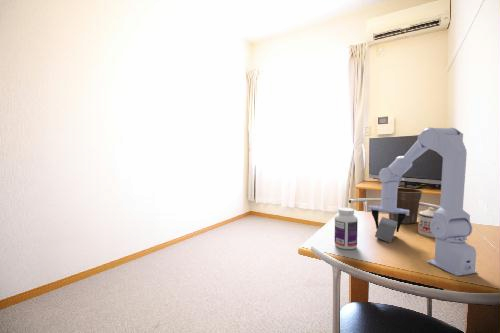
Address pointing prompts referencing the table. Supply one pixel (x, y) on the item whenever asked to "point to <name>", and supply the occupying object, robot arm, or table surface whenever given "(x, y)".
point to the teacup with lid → (426, 222)
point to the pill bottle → (346, 229)
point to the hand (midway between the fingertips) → (387, 229)
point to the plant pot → (407, 204)
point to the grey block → (386, 229)
